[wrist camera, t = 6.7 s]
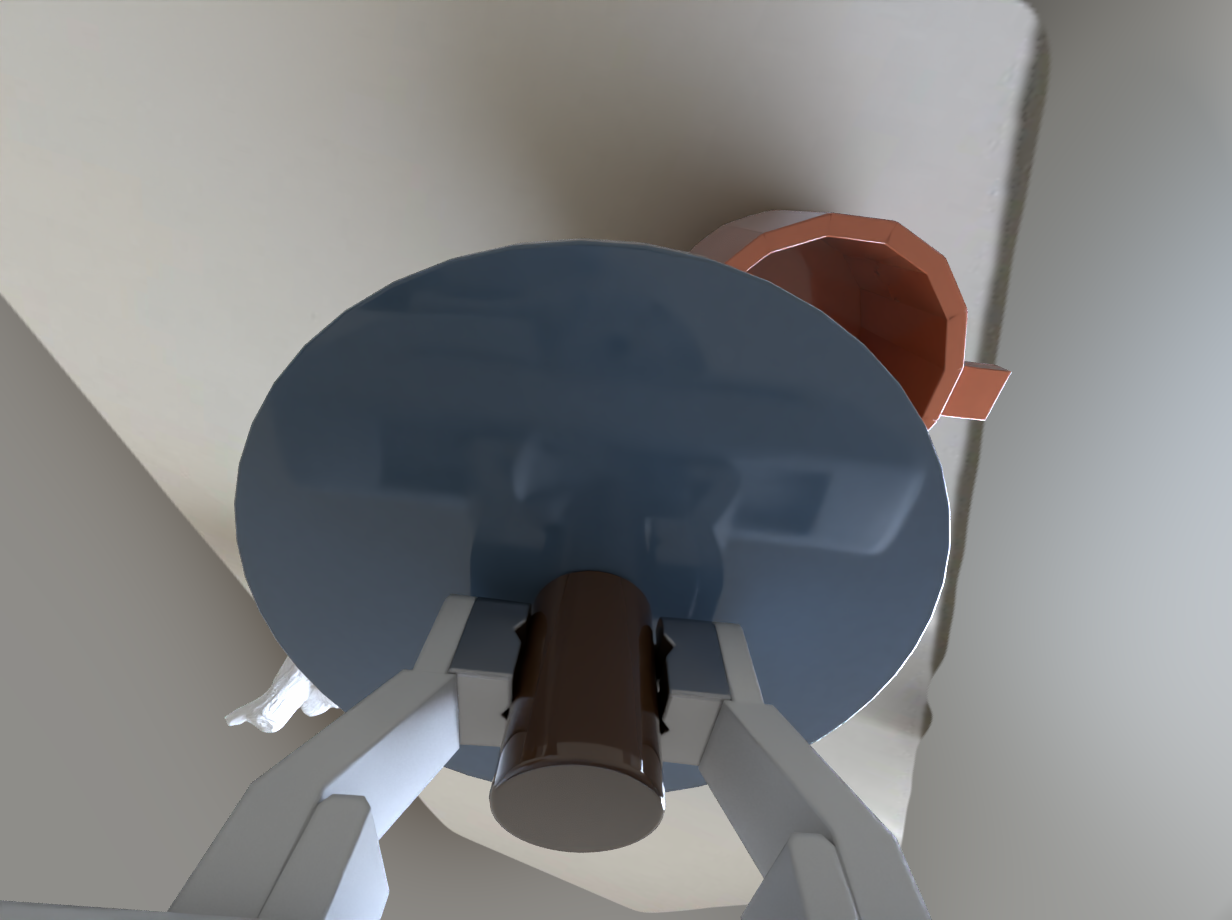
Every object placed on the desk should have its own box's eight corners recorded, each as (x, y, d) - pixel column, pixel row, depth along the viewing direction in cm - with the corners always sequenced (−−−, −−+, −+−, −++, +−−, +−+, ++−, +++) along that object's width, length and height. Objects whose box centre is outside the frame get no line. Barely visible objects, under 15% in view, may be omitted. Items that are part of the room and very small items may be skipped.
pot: (621, 190, 24) (621, 184, 17) (955, 234, 25) (1096, 247, 18) (598, 413, 30) (590, 481, 23) (867, 442, 31) (944, 518, 24)
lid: (189, 174, 7) (-469, 119, 3) (1056, 300, 8) (1582, 406, 3) (332, 728, 13) (199, 963, 9) (797, 770, 14) (870, 1007, 10)
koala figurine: (337, 608, 39) (233, 757, 29) (317, 546, 36) (191, 687, 25) (439, 614, 39) (372, 764, 29) (428, 551, 36) (348, 695, 26)
